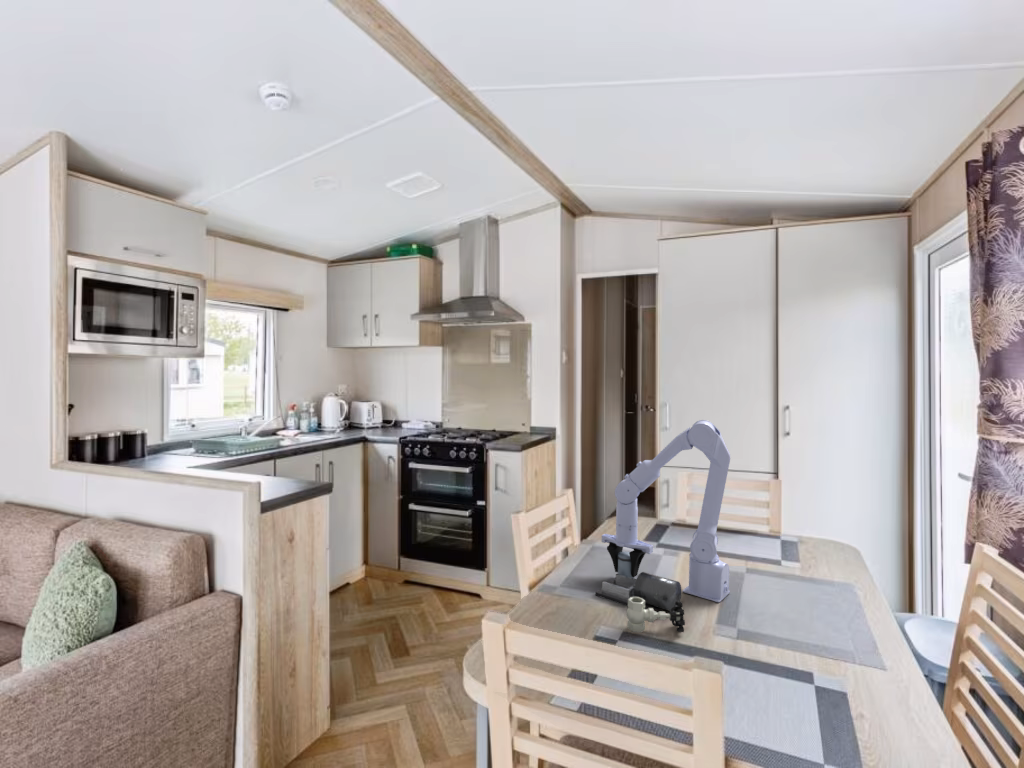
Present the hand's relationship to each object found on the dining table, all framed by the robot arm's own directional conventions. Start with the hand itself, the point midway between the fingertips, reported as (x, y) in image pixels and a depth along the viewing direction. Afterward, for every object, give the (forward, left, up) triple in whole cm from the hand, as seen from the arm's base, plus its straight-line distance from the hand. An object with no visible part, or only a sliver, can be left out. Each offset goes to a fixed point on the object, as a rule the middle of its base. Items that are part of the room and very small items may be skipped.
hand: (626, 573), depth 149 cm
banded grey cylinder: (0, 0, -2) cm, 2 cm away
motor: (-8, +9, -2) cm, 12 cm away
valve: (-18, +20, -2) cm, 27 cm away
